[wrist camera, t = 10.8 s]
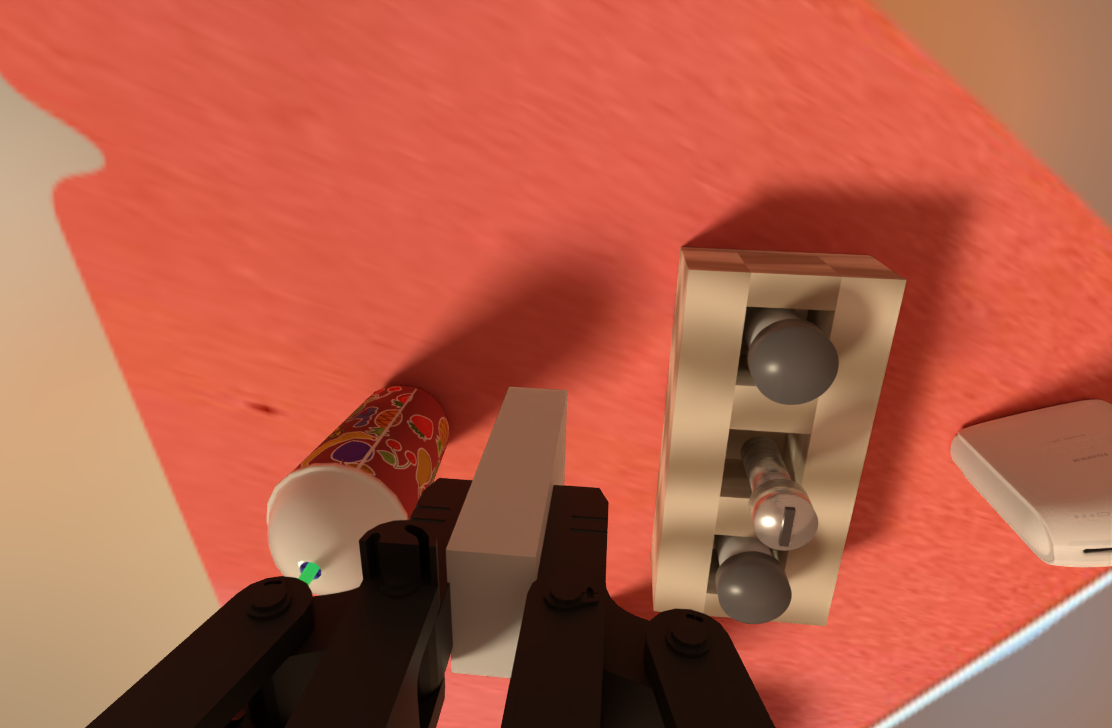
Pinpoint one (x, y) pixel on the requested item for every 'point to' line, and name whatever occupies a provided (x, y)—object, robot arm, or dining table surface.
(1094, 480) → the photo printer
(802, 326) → the knob
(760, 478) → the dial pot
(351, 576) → the smoothie
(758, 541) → the knob
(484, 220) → the dining table surface
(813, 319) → the tan rectangular block
